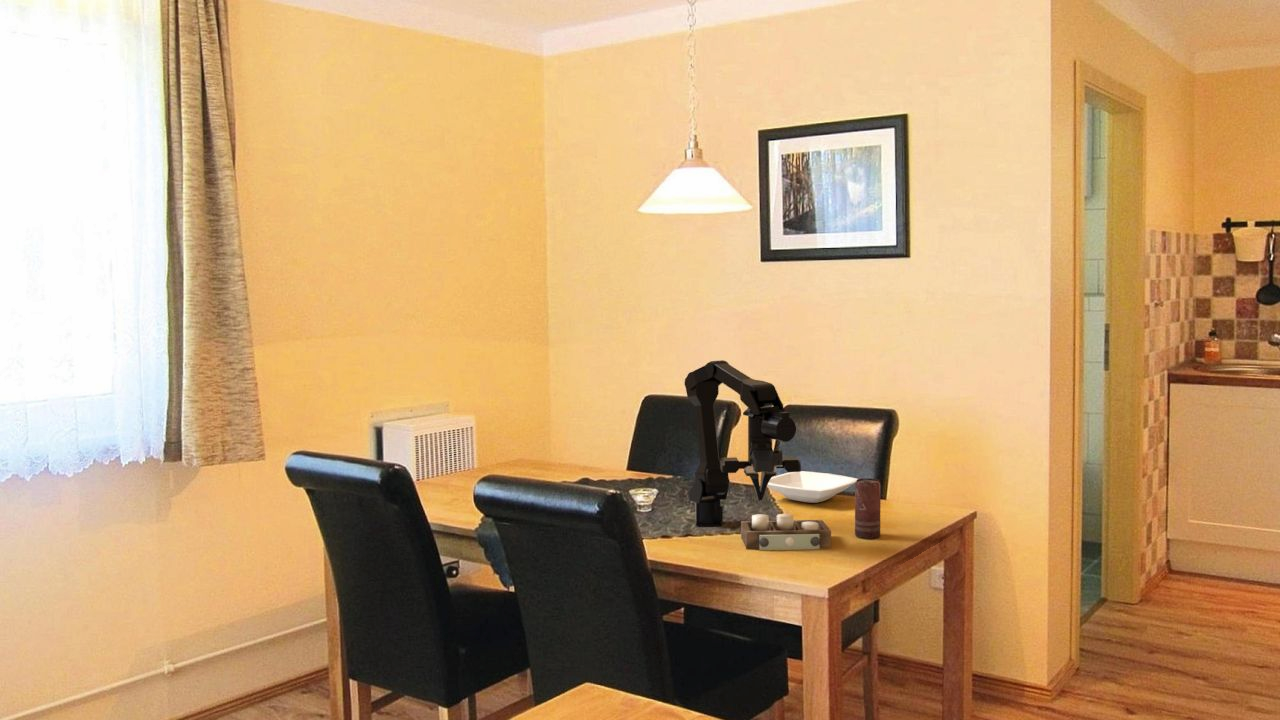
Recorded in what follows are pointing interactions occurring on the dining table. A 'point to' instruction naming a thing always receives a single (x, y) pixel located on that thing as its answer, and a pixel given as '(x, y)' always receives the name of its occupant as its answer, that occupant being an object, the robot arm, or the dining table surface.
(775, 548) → the card
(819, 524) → the brown compartment tray
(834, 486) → the bowl
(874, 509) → the can
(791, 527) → the button mid
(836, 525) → the dining table surface
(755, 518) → the button left
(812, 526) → the button right
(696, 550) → the dining table surface
